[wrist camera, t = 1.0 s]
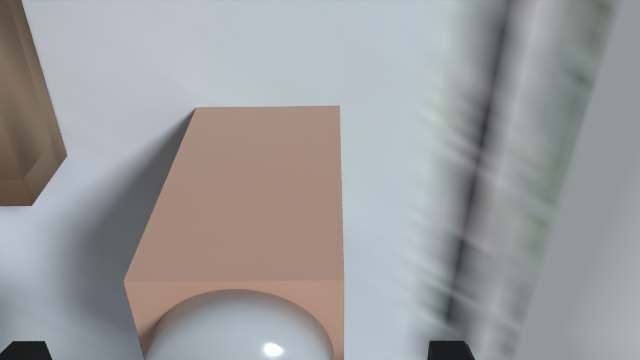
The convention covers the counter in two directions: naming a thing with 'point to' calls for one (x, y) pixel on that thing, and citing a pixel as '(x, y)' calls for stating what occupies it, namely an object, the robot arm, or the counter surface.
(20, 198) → the tray
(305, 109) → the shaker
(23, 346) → the robot arm
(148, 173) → the counter surface
